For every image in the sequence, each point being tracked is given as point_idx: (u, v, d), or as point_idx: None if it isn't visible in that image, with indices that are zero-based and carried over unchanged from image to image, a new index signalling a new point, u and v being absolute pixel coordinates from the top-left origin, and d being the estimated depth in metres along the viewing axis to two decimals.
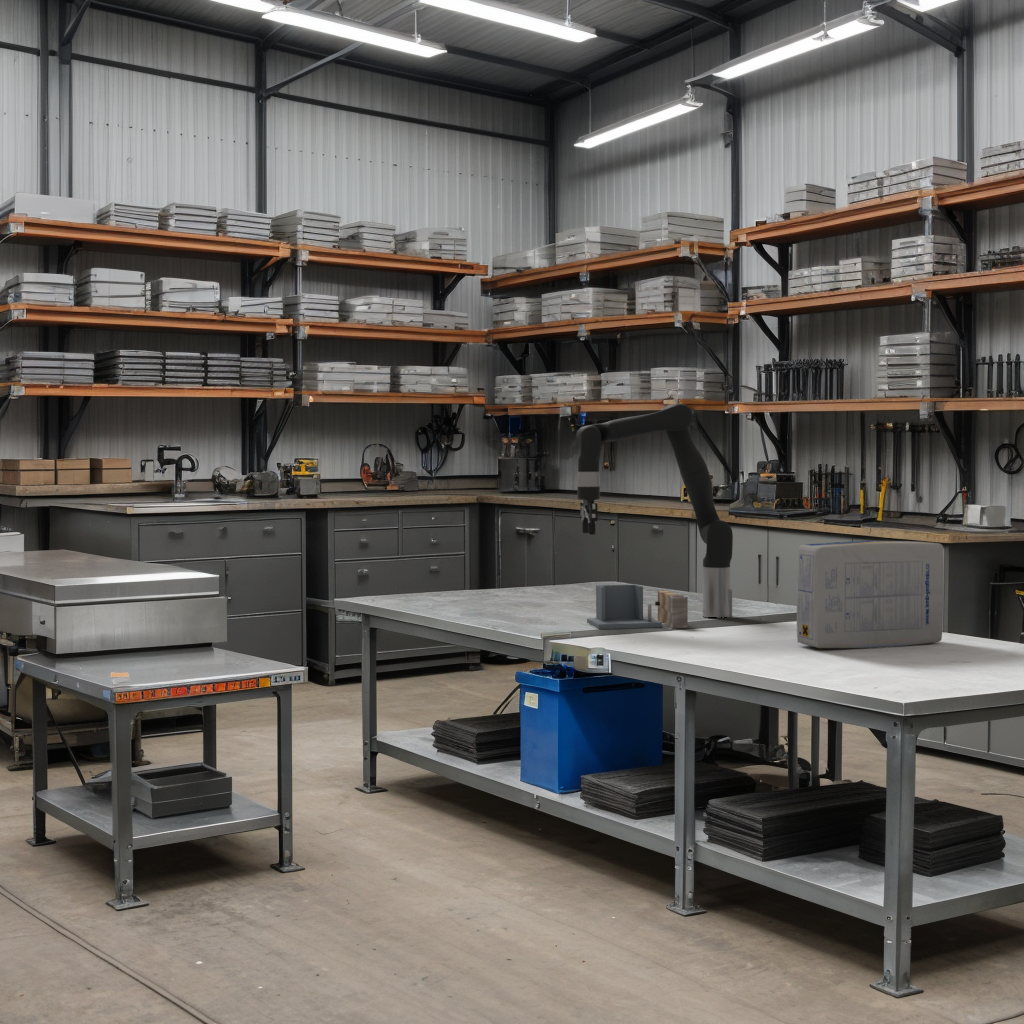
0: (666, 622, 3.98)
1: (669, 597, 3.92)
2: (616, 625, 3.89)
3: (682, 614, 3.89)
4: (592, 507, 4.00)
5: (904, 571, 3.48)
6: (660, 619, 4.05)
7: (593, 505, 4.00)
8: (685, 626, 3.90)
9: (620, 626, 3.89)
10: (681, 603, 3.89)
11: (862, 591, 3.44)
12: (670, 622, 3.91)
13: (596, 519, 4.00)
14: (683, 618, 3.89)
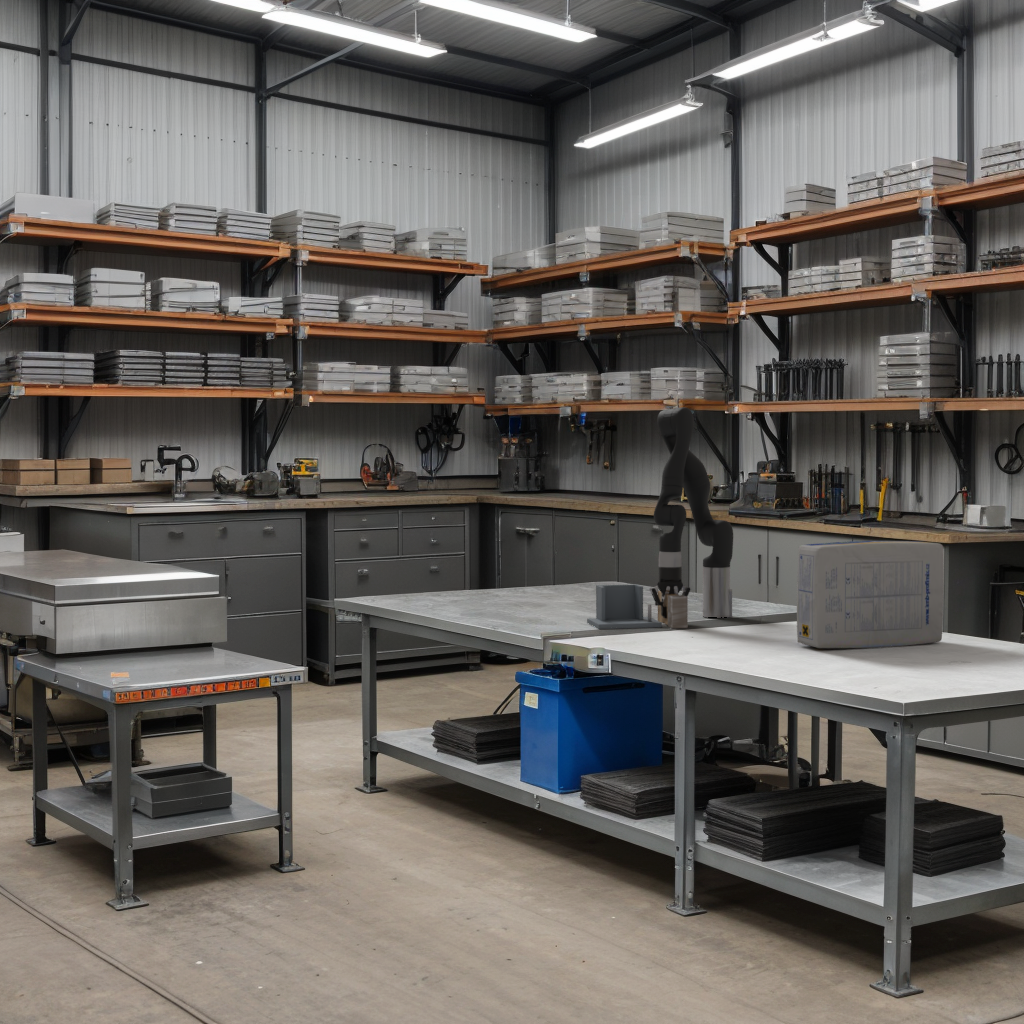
0: (666, 622, 3.98)
1: (669, 597, 3.92)
2: (616, 625, 3.89)
3: (682, 614, 3.89)
4: None
5: (904, 571, 3.48)
6: (660, 619, 4.05)
7: None
8: (685, 626, 3.90)
9: (620, 626, 3.89)
10: (681, 603, 3.89)
11: (862, 591, 3.44)
12: (669, 622, 3.91)
13: None
14: (683, 618, 3.89)
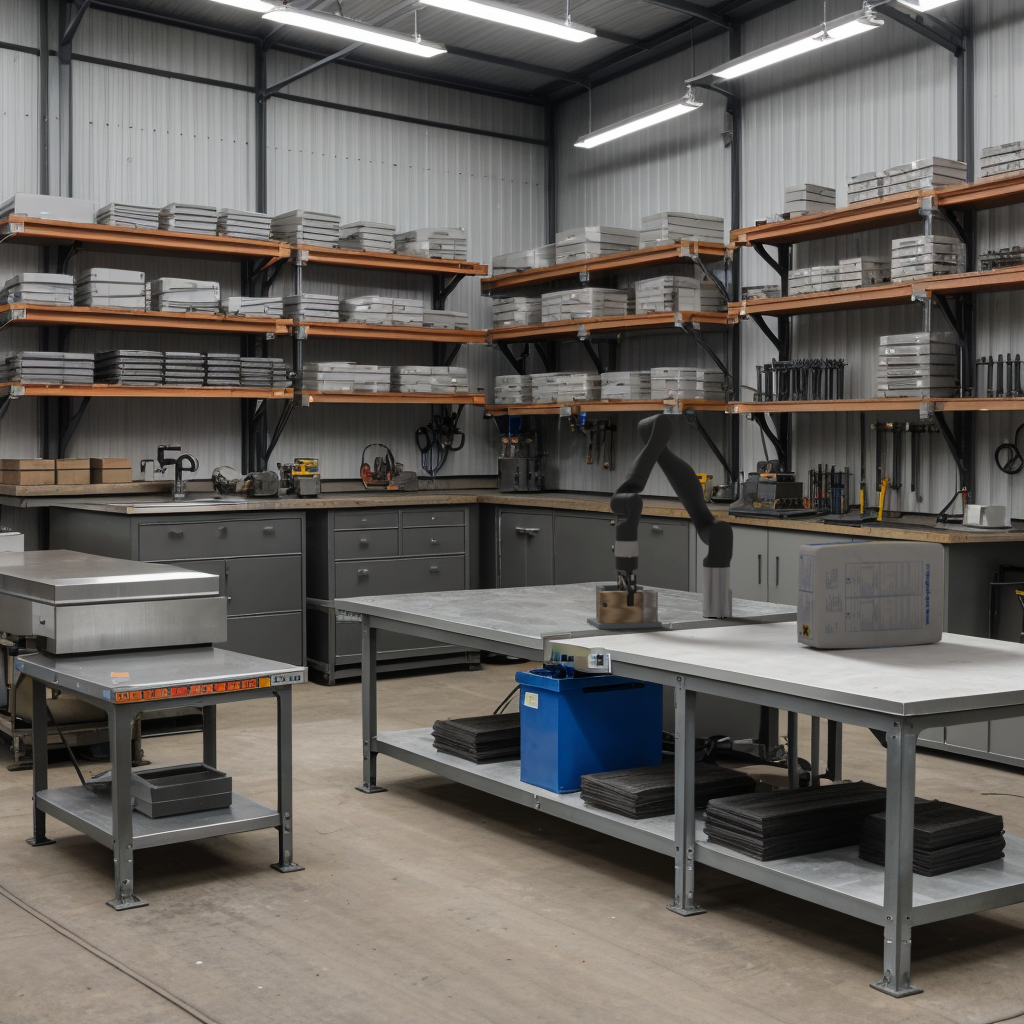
0: (628, 620, 3.92)
1: (648, 592, 3.92)
2: (616, 625, 3.89)
3: None
4: None
5: (904, 571, 3.48)
6: (609, 620, 3.91)
7: None
8: None
9: (620, 626, 3.89)
10: None
11: (862, 591, 3.44)
12: (649, 617, 3.92)
13: None
14: None
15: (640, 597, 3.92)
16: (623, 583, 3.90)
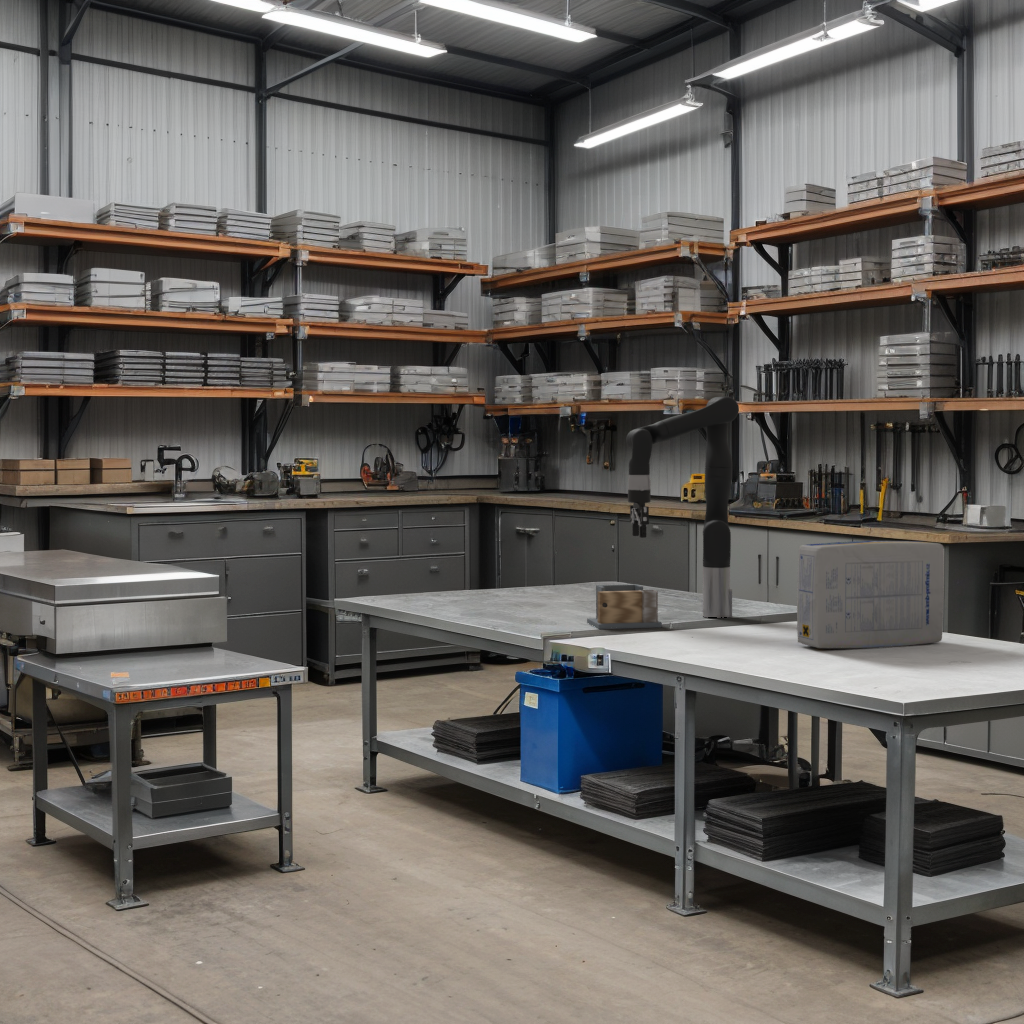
0: (628, 620, 3.92)
1: (648, 592, 3.92)
2: (616, 625, 3.89)
3: None
4: None
5: (904, 571, 3.48)
6: (609, 620, 3.91)
7: None
8: None
9: (620, 626, 3.89)
10: None
11: (862, 591, 3.44)
12: (649, 617, 3.92)
13: None
14: None
15: (640, 597, 3.92)
16: (636, 515, 4.06)
